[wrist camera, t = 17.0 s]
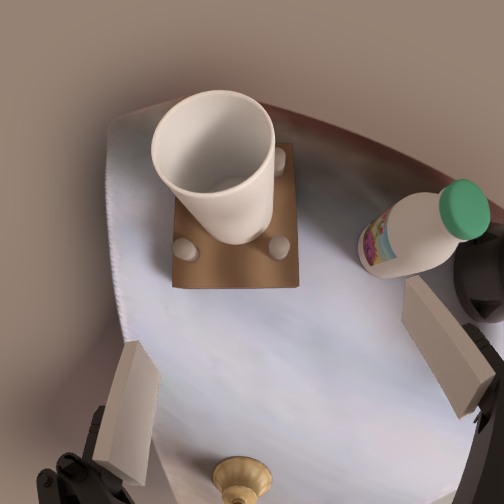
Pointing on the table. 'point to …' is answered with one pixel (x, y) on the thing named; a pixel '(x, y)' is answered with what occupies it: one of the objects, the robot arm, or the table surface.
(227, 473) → the hand bell
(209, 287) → the riser
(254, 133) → the cup
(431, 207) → the milk bottle
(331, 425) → the table surface
